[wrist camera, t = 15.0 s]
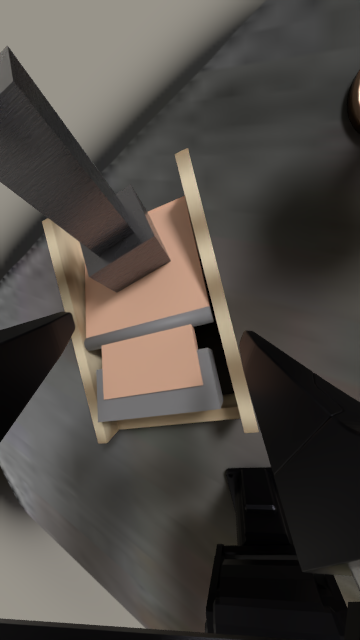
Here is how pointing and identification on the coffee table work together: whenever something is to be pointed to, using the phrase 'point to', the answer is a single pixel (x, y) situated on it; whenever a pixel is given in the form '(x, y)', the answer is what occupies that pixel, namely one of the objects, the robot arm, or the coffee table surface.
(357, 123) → the candlestick
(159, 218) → the trapdoor
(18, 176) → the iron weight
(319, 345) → the coffee table surface
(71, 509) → the coffee table surface
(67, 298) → the trapdoor frame
